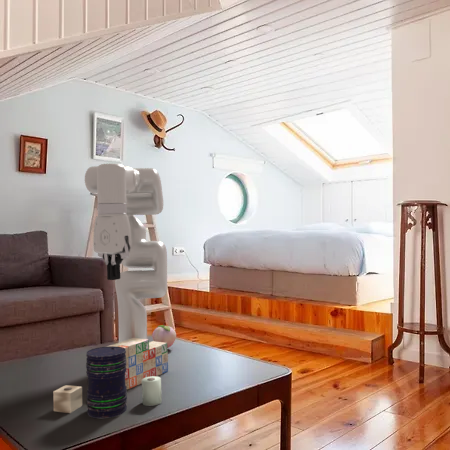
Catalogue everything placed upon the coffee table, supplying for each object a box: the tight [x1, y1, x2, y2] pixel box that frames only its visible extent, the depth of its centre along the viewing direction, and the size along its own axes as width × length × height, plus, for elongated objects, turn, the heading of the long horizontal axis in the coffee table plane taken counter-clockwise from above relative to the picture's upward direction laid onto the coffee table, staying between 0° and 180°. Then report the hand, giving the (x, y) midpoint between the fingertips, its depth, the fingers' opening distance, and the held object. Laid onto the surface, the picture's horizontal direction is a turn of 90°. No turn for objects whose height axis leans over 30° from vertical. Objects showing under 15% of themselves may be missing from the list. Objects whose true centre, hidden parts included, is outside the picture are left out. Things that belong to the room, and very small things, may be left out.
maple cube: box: [52, 384, 83, 414], centre depth 119 cm, size 5×5×5 cm
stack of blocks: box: [105, 338, 169, 390], centre depth 142 cm, size 21×6×12 cm, turn 149°
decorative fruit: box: [151, 324, 177, 349], centre depth 177 cm, size 9×8×10 cm
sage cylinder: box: [141, 376, 163, 407], centre depth 122 cm, size 5×5×6 cm
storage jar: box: [85, 345, 128, 419], centre depth 117 cm, size 10×10×15 cm
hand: (113, 279), depth 124 cm, fingers closed
